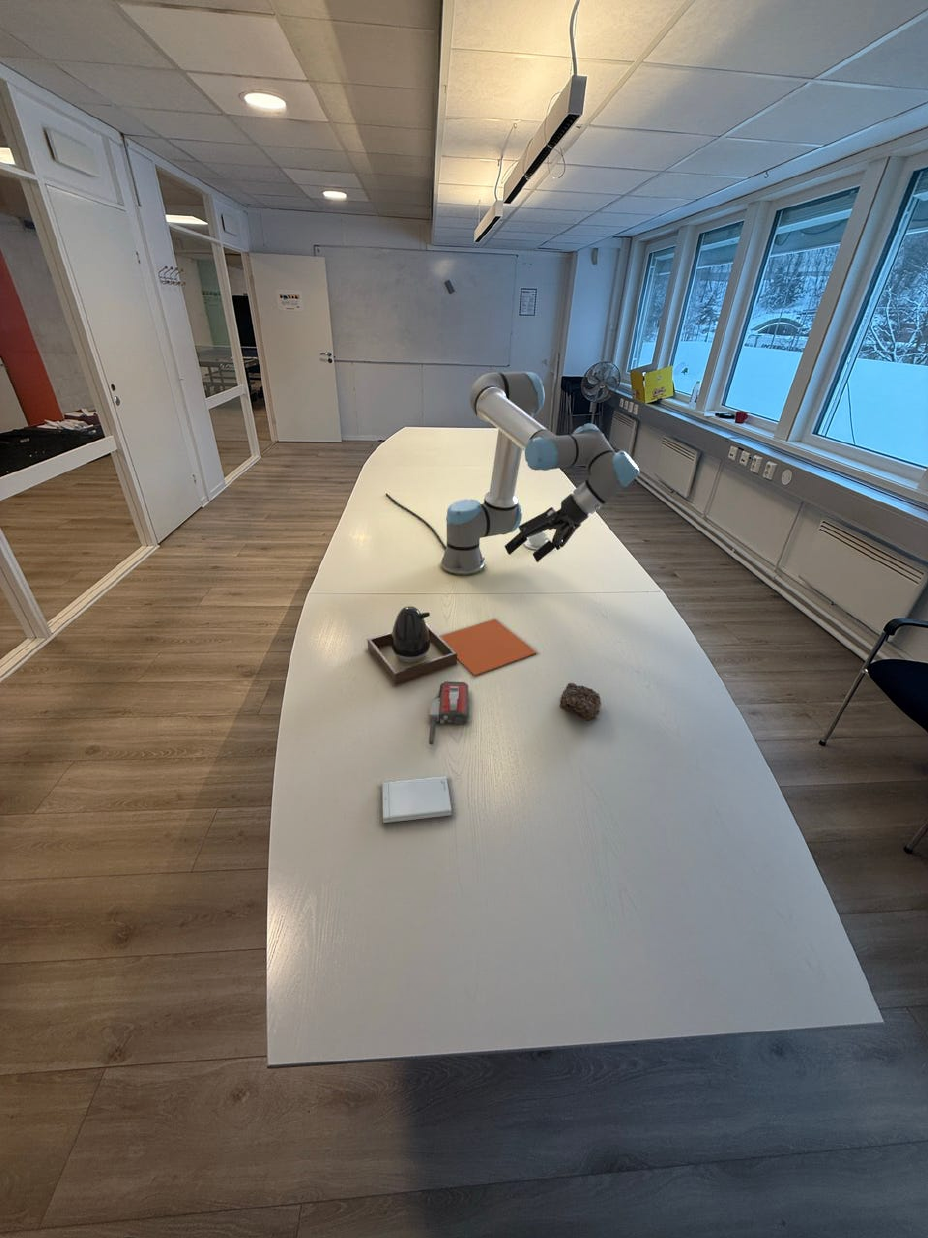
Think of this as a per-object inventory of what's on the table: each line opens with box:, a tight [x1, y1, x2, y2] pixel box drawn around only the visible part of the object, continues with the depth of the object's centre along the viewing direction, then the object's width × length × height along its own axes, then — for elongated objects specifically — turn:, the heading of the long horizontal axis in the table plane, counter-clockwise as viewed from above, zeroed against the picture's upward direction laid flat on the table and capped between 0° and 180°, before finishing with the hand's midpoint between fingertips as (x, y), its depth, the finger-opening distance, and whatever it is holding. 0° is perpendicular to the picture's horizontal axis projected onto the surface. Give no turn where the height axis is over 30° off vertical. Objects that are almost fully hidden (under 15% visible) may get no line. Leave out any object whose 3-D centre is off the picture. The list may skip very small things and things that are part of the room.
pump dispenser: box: [390, 605, 431, 664], centre depth 129 cm, size 10×10×15 cm
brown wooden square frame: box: [366, 621, 458, 686], centre depth 132 cm, size 18×18×4 cm
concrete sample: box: [559, 682, 602, 721], centre depth 116 cm, size 12×10×5 cm
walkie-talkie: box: [428, 680, 469, 746], centre depth 113 cm, size 9×4×20 cm
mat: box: [439, 618, 537, 677], centre depth 138 cm, size 20×20×1 cm
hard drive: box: [381, 775, 453, 824], centre depth 94 cm, size 2×8×12 cm
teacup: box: [523, 531, 551, 550], centre depth 198 cm, size 10×10×5 cm
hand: (521, 554), depth 138 cm, fingers open, 13 cm apart
